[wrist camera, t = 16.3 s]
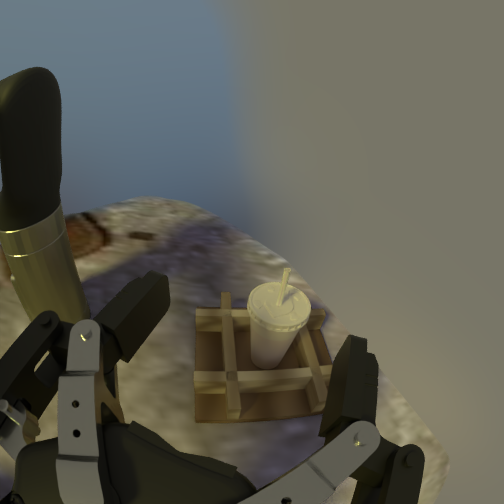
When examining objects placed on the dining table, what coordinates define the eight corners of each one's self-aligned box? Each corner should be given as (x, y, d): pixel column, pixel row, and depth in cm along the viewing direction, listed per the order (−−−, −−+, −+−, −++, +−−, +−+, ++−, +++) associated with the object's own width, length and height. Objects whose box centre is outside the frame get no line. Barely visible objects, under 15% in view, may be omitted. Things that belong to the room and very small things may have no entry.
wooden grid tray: (195, 422, 24) (193, 409, 22) (197, 311, 38) (196, 291, 36) (343, 409, 27) (357, 394, 25) (309, 311, 41) (316, 292, 39)
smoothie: (231, 367, 30) (241, 275, 22) (250, 331, 35) (266, 240, 28) (282, 385, 29) (317, 299, 21) (296, 346, 34) (328, 258, 26)
